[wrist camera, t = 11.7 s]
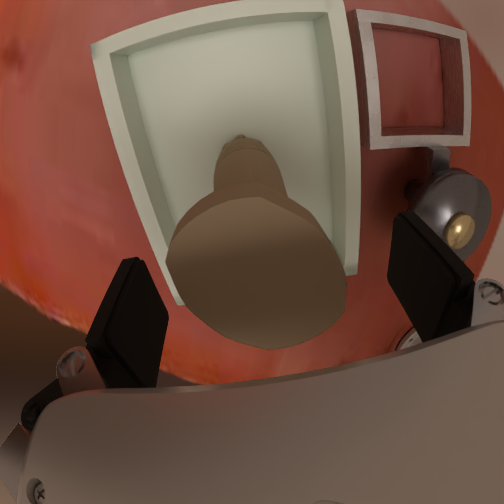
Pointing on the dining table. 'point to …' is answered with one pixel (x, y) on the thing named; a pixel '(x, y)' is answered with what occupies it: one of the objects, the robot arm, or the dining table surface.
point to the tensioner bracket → (426, 130)
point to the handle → (256, 256)
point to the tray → (236, 110)
